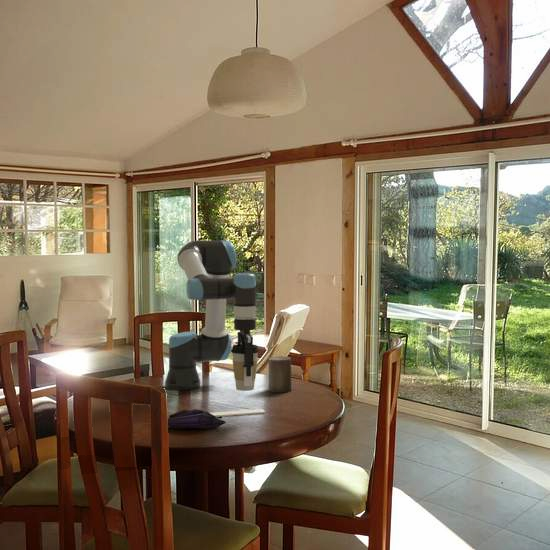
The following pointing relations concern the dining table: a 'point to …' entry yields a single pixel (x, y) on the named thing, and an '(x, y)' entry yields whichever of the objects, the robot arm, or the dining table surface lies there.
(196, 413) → the crystal
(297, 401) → the dining table surface
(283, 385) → the pillar candle
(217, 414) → the cream flat slat
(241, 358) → the coffee cup
